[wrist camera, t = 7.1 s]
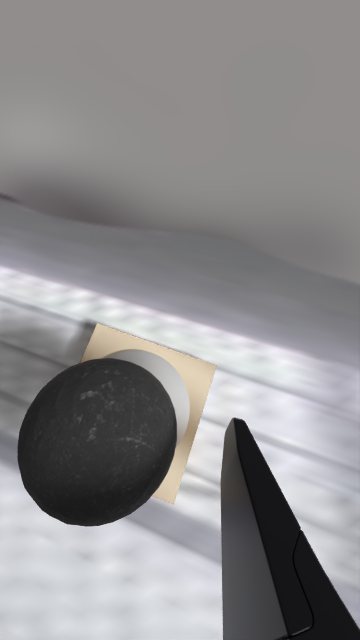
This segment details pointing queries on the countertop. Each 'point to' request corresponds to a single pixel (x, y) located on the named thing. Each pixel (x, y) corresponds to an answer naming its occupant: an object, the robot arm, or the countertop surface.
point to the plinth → (176, 377)
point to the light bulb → (97, 442)
